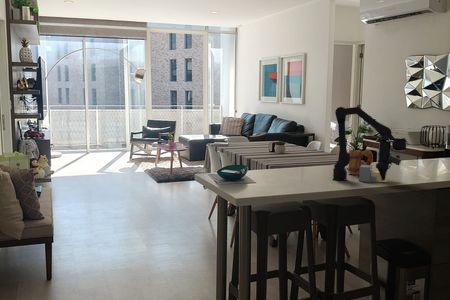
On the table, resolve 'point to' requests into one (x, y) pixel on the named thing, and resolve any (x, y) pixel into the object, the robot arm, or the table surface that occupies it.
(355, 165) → the mug
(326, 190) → the table surface
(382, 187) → the table surface
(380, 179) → the pale yellow flat block
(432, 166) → the table surface
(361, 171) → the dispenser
